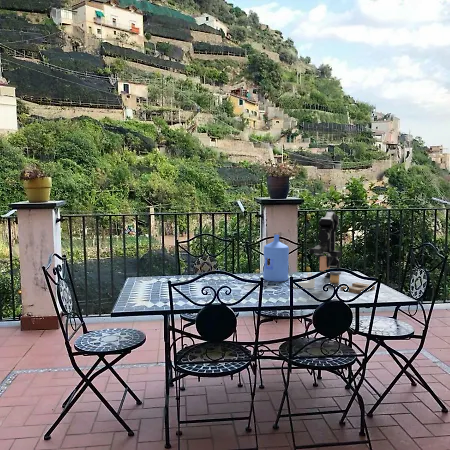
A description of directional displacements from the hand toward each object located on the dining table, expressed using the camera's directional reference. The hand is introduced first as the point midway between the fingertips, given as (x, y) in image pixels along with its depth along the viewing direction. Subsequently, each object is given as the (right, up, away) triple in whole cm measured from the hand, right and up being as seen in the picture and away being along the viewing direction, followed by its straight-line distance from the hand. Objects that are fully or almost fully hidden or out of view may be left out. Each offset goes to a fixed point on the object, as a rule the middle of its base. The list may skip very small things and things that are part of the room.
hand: (324, 267), depth 246 cm
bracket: (-12, -12, +4) cm, 18 cm away
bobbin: (+8, -12, +8) cm, 16 cm away
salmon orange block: (0, -2, 0) cm, 2 cm away
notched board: (+18, -13, -2) cm, 22 cm away
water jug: (-25, -10, +23) cm, 36 cm away
